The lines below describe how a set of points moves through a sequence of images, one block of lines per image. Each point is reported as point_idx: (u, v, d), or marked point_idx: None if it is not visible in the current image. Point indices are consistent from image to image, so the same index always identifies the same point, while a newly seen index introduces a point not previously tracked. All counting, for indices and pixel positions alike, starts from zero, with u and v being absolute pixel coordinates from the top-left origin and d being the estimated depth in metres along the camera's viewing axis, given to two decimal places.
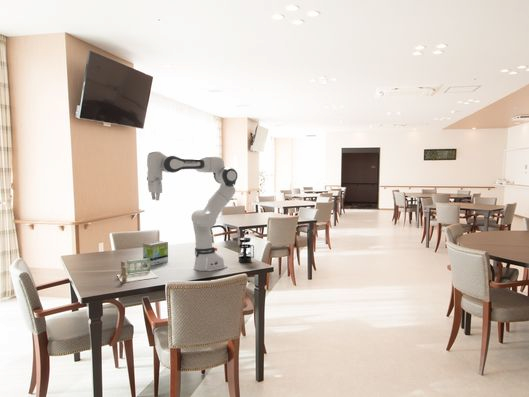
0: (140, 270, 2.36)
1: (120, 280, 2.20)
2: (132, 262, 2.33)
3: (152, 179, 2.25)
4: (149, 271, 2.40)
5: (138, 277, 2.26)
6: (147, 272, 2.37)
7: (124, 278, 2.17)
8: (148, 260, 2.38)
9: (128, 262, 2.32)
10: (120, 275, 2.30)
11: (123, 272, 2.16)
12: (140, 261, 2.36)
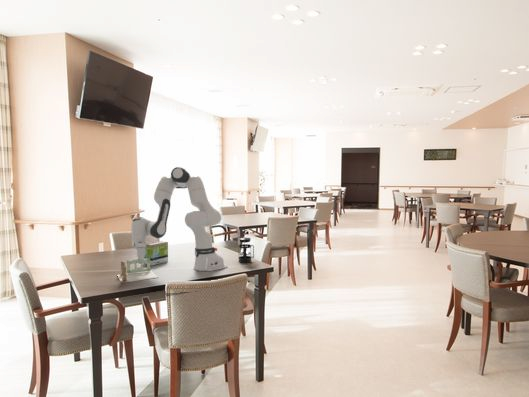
0: (140, 270, 2.36)
1: (120, 280, 2.20)
2: (132, 262, 2.33)
3: None
4: (149, 271, 2.40)
5: (138, 277, 2.26)
6: (147, 272, 2.37)
7: (124, 278, 2.17)
8: (148, 260, 2.38)
9: (128, 262, 2.32)
10: (120, 275, 2.30)
11: (123, 272, 2.16)
12: (140, 261, 2.36)
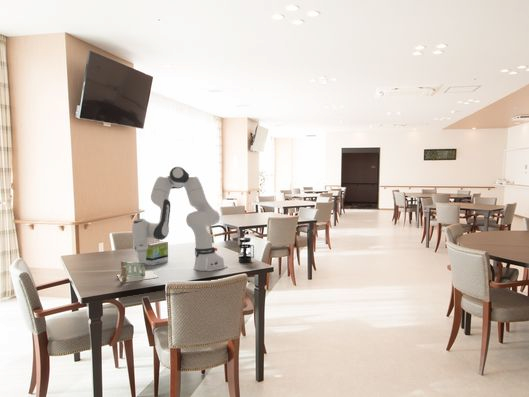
0: (135, 274, 2.27)
1: (120, 280, 2.20)
2: (129, 264, 2.28)
3: None
4: (149, 271, 2.40)
5: (138, 277, 2.26)
6: (147, 272, 2.37)
7: (124, 278, 2.17)
8: (141, 265, 2.25)
9: (125, 263, 2.29)
10: (120, 275, 2.30)
11: (123, 272, 2.16)
12: (135, 265, 2.27)
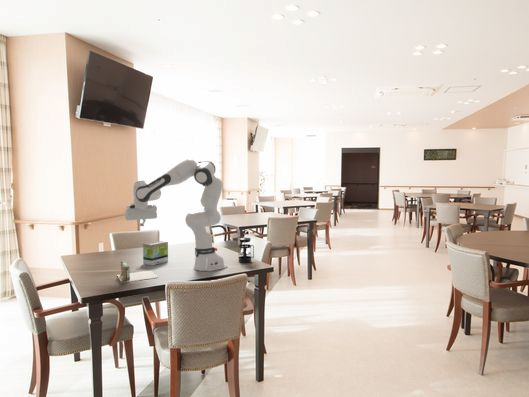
0: None
1: (120, 280, 2.20)
2: (123, 265, 2.26)
3: (147, 206, 2.44)
4: (149, 271, 2.40)
5: (138, 277, 2.26)
6: (147, 272, 2.37)
7: (124, 278, 2.17)
8: (126, 268, 2.18)
9: (122, 264, 2.28)
10: (120, 275, 2.30)
11: (123, 272, 2.16)
12: None
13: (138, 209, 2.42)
